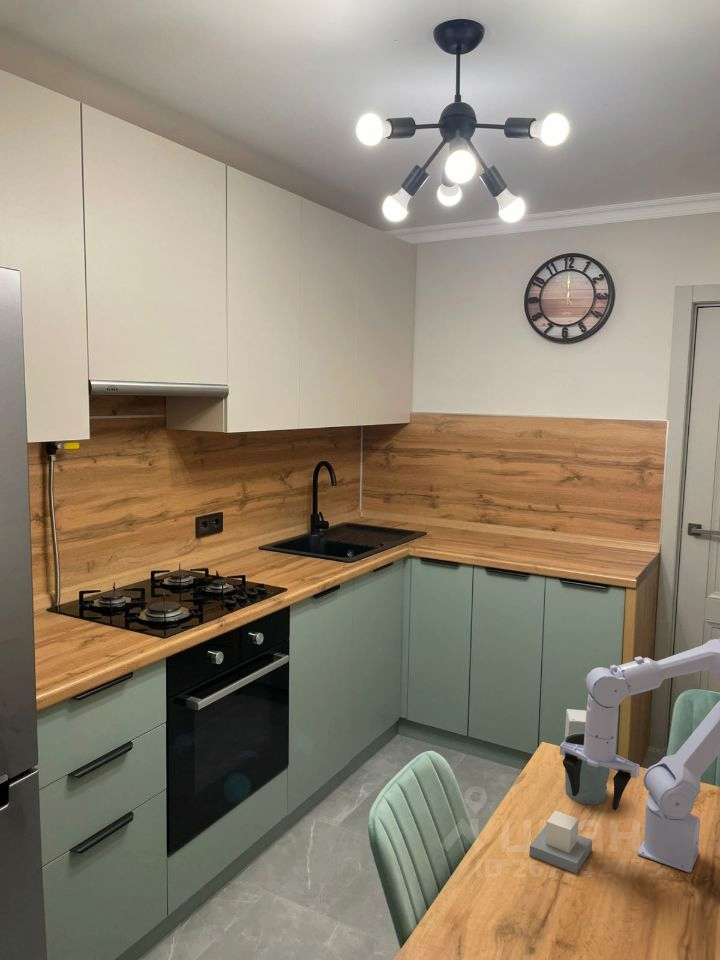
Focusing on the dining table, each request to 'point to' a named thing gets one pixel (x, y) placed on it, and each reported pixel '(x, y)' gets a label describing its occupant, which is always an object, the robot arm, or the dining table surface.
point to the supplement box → (575, 721)
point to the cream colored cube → (562, 831)
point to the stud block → (561, 852)
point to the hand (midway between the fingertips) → (595, 800)
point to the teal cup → (587, 778)
